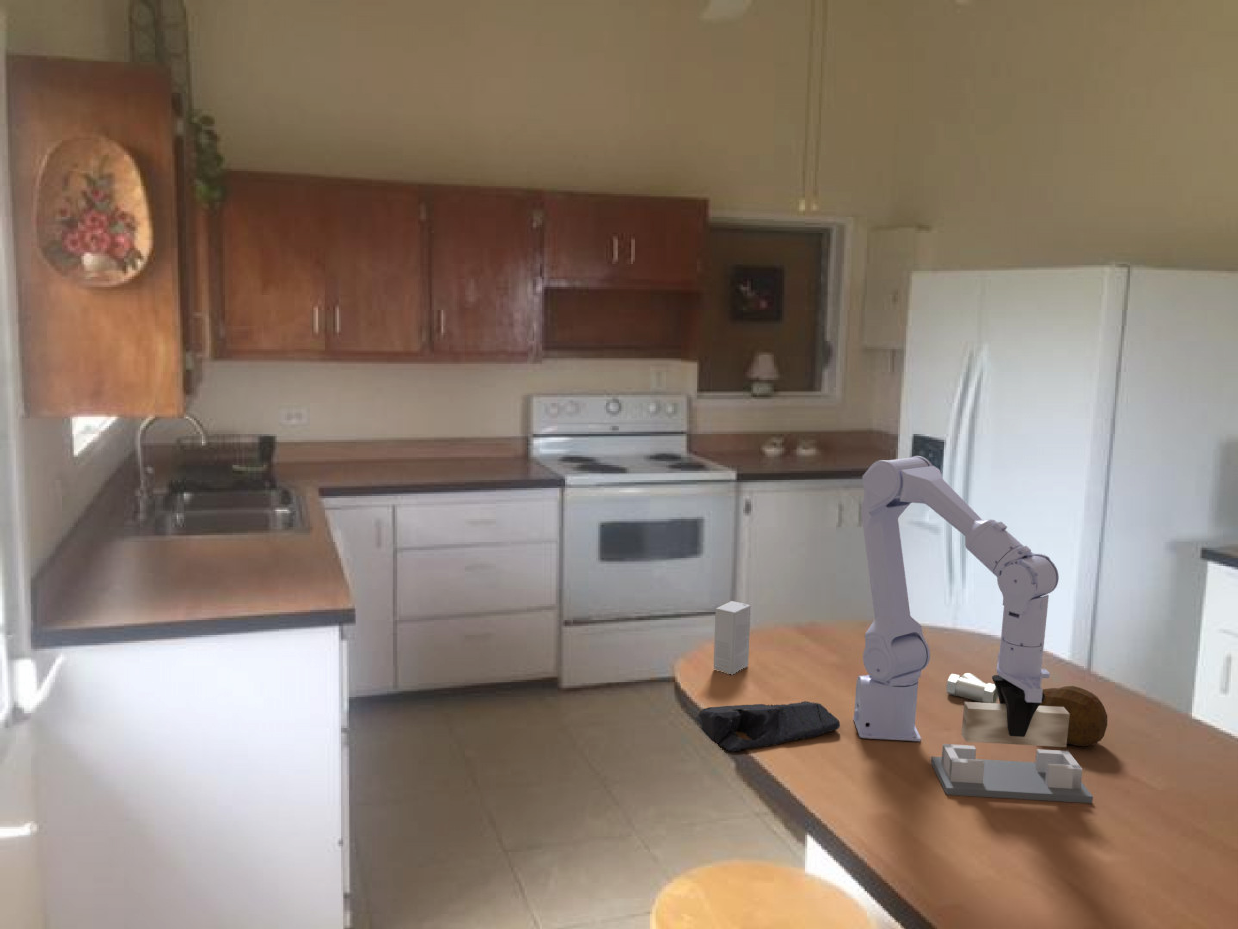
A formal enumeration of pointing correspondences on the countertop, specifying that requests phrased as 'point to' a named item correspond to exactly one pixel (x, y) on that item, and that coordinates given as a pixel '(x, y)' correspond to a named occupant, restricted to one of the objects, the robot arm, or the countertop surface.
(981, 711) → the slat
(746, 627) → the skincare box
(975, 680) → the pipe fitting
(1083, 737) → the potato
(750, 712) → the black folded cloth
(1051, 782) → the board
